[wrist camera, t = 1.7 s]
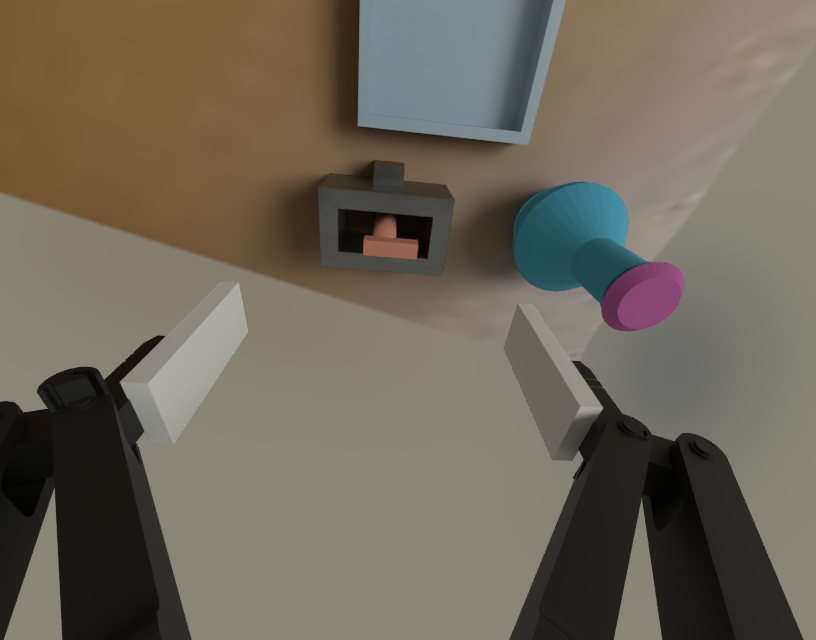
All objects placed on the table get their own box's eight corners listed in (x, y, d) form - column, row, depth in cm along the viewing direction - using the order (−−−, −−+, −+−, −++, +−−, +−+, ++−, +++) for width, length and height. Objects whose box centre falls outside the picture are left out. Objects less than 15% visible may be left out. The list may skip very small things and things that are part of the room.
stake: (370, 223, 31) (363, 259, 24) (371, 203, 30) (363, 235, 23) (411, 227, 32) (416, 264, 24) (413, 207, 31) (418, 239, 23)
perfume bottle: (521, 285, 35) (591, 386, 23) (483, 209, 31) (544, 282, 18) (609, 238, 33) (743, 323, 20) (582, 149, 28) (731, 186, 16)
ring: (331, 243, 32) (321, 266, 27) (329, 155, 28) (316, 165, 23) (435, 251, 33) (442, 275, 28) (448, 167, 29) (458, 179, 24)
